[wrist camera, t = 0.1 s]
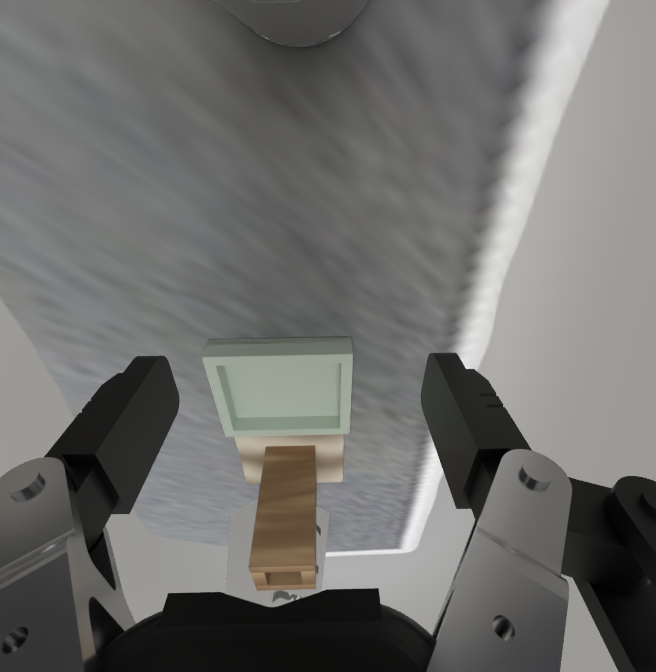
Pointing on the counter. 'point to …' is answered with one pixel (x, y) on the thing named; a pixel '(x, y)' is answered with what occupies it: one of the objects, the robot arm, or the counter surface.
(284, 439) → the stake board
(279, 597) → the grater
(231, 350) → the tray
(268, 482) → the sleeve
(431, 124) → the counter surface
